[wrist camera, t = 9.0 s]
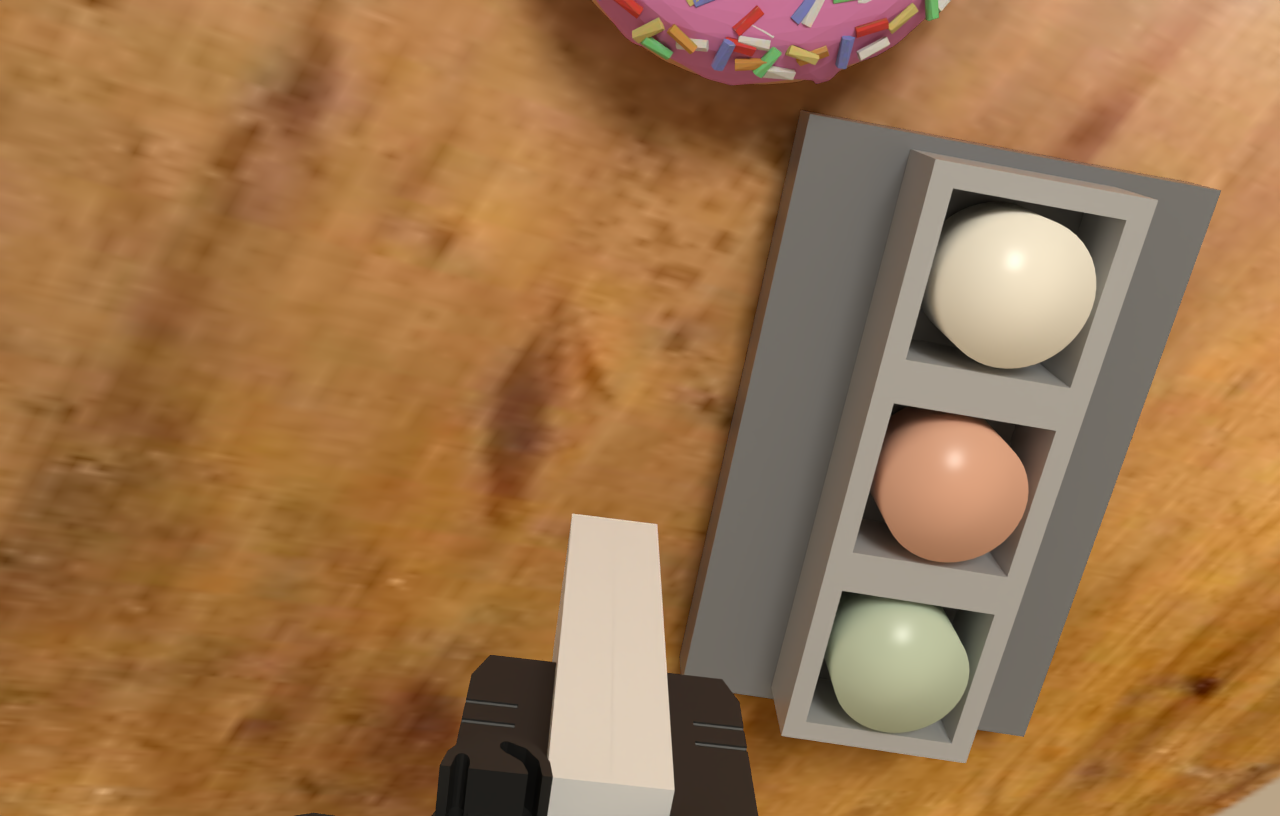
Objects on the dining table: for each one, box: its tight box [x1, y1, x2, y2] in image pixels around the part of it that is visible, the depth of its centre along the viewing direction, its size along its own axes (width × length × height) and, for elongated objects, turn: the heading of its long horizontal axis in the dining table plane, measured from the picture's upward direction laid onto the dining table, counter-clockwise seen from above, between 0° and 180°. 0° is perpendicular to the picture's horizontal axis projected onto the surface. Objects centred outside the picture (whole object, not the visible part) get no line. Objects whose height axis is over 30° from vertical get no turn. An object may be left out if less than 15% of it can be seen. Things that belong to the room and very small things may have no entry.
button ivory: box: [921, 202, 1096, 369], centre depth 34 cm, size 5×5×3 cm
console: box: [680, 110, 1221, 763], centre depth 37 cm, size 22×14×5 cm, turn 170°
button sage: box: [824, 591, 969, 733], centre depth 38 cm, size 5×5×3 cm
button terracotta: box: [870, 406, 1029, 563], centre depth 36 cm, size 5×5×3 cm
